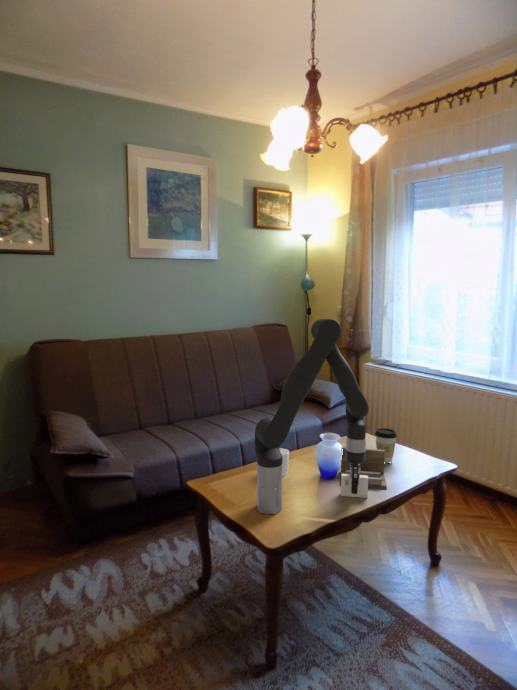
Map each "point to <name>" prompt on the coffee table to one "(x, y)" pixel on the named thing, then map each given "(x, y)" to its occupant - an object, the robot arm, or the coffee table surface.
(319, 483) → the coffee table surface
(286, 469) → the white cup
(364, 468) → the base
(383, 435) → the coffee cup
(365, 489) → the white thin panel
